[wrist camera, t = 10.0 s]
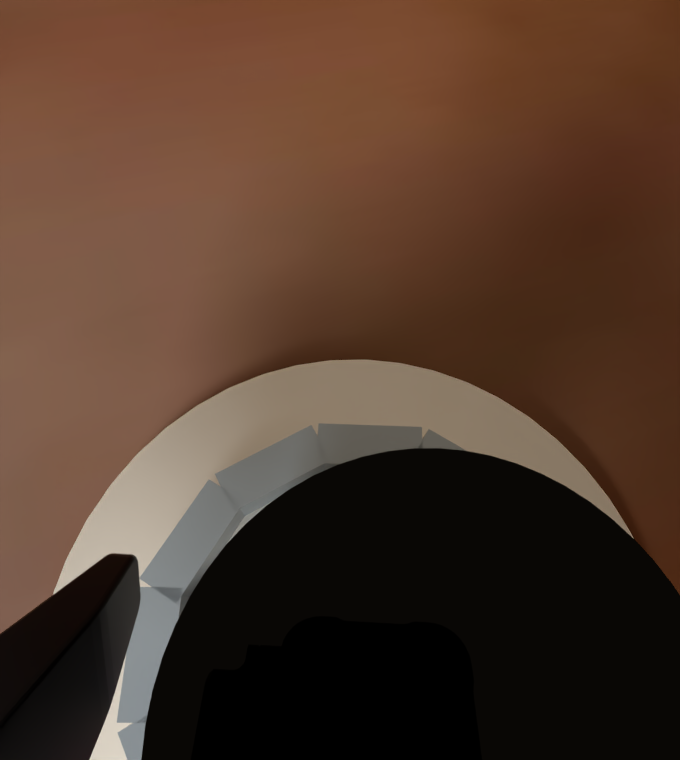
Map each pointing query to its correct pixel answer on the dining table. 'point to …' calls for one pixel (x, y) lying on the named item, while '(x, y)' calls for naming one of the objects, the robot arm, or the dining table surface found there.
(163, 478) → the round tray
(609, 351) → the dining table surface
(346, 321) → the dining table surface
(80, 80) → the dining table surface
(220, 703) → the supplement container
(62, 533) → the dining table surface
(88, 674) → the robot arm
